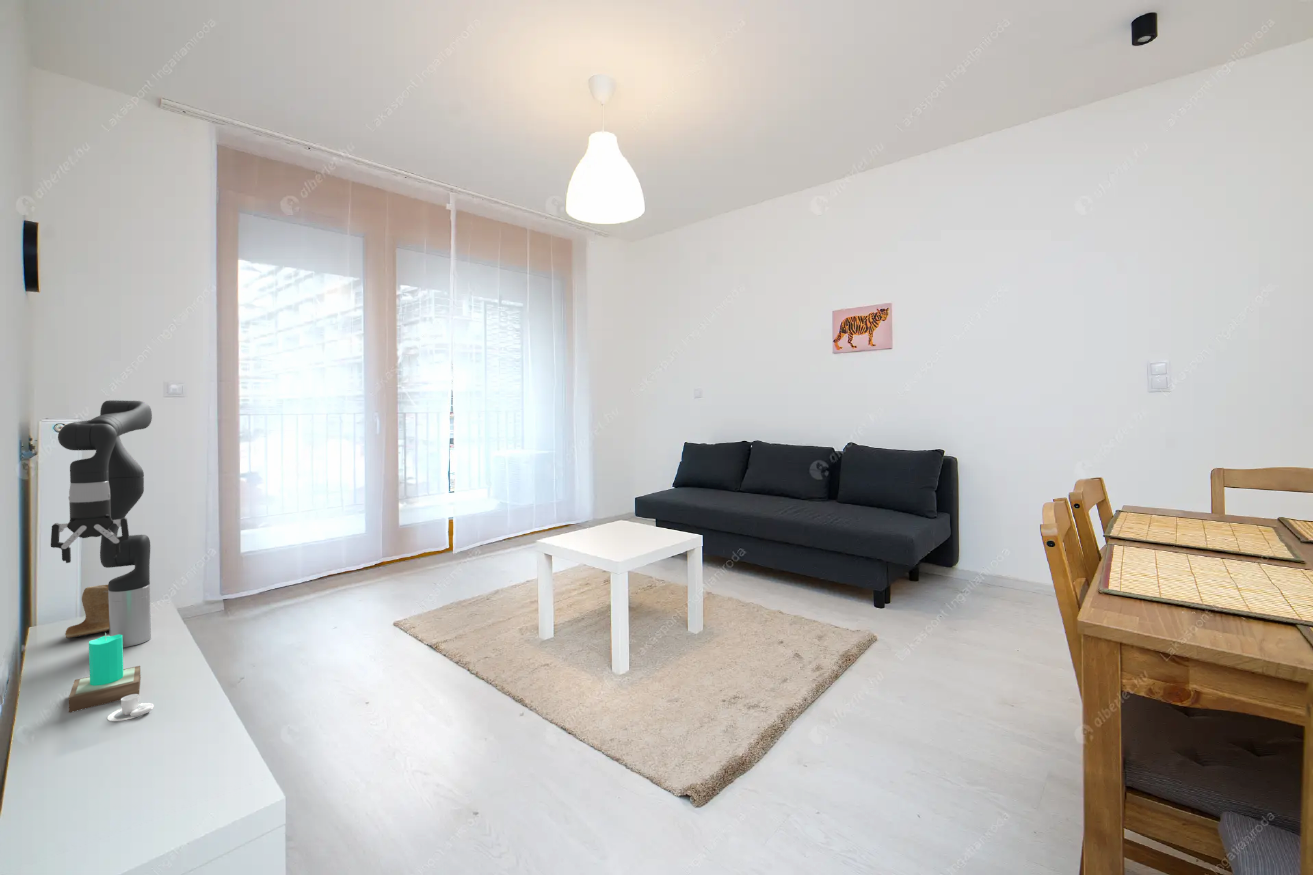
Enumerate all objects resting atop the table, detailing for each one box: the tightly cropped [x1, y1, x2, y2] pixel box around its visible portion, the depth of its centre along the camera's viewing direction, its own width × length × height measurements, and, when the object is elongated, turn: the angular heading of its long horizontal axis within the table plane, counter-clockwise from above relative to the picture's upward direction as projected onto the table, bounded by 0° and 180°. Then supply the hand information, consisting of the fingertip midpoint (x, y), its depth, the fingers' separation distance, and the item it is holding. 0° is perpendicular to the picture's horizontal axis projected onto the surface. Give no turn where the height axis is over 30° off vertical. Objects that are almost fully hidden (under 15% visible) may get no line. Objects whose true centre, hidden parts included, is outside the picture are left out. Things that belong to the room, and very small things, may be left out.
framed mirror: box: [68, 665, 142, 713], centre depth 136 cm, size 12×12×4 cm
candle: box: [88, 632, 124, 686], centre depth 136 cm, size 6×6×12 cm
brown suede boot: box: [64, 583, 109, 639], centre depth 176 cm, size 15×12×15 cm
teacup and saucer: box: [106, 693, 155, 722], centre depth 128 cm, size 9×8×4 cm
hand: (91, 559), depth 144 cm, fingers open, 8 cm apart
